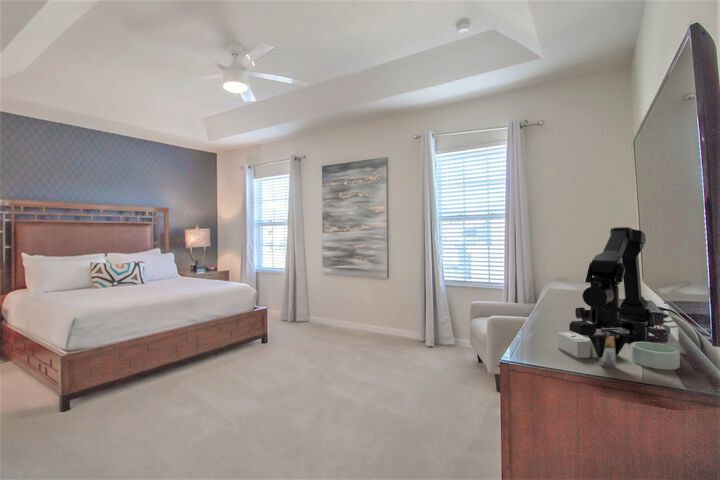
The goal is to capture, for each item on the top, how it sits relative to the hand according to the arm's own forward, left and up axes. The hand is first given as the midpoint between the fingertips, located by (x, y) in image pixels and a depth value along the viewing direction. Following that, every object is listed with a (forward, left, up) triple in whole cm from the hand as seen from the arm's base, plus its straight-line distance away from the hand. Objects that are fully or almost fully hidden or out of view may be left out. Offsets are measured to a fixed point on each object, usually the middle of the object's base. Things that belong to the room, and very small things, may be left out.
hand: (607, 357), depth 101 cm
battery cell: (0, 0, -2) cm, 2 cm away
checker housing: (-3, -12, -3) cm, 13 cm away
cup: (-15, -1, -2) cm, 15 cm away
